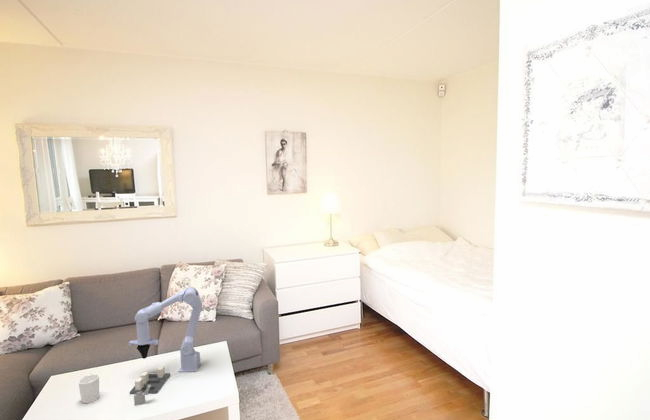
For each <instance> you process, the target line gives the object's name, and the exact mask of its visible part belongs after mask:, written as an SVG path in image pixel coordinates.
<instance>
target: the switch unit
mask: <svg viewBox="0 0 650 420" xmlns="http://www.w3.org/2000/svg"><path fill="white" fill-rule="evenodd" d="M148 376H149V380H148V382H147V383H146V384H143V385H144V386H143V388H142V389H141V390H135V385H134V386H133V387H132V389H130V391H129V395H135V394H136V393H137V392H141V391H142V393H145V390H146V388H147V386H148V384H149V385H151V387H150V389H149V391H148V394H147V395H149V394H150V395H151V394H158V392H159V391H161V389H162V387H164V385H165V383H166V382H167V380H168V379H169V378H170V377H171V373H170V372H165V375H164V376H163V377H161V378H158V373H148Z"/></svg>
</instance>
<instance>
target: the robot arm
mask: <svg viewBox="0 0 650 420" xmlns="http://www.w3.org/2000/svg"><path fill="white" fill-rule="evenodd" d="M177 302H178V303H185V304H187V305H189V306H190V307H191V312H190V313H191V314H190V318H189V321H188V326H187V329H186V332H185V336H184V338H183V339H182V341H181V345H180V350H179V353H180V368H179V369H178V373H184V372H186V373H187V372H196V371H197V370H198V369H199V368H200V366H201V365H202V364H201V353H200V352H199V351H198V350H197V351H196V350H195V348H194V344H195V341H194V338H195V335H196V331H197V327H198V324H199V320H200V315H201V312H202V308H203V302H202V299H201V296H200V293H199V291H198V290H197V289H196V288H195V287H193V286H190V287H187V288H185V289H182V290H180V291H178V292H177V293H175V294H173V295H172V296H170V297H168V298H167V299H164V300H163V301H161V302H160V301H157V302H154V301H153V302H152V303H151V305H149V306H147V307H143V308H141V309H139V310H138V311H137V312H136V314H135V315H134V321H135V323H136V339H134V340H129V342H128V346H129V347H130V346H131V347H132V346H136V349H137V350H138V352H139V353H140V356H141V358H142V359H146V358H148V353H149V351H150V350H149V349H150V347H151V345H155V346H157V345H159V343H160V342H159V341H160V340H159V339H156V338H155V339H154V338H151V337H150V323H149V319H151V318H153V317H155V316H157V315H159V314H160V313H162V312H163V310H164V309H165V308H167V307H169V306H171V305H173V304H175V303H177Z"/></svg>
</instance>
